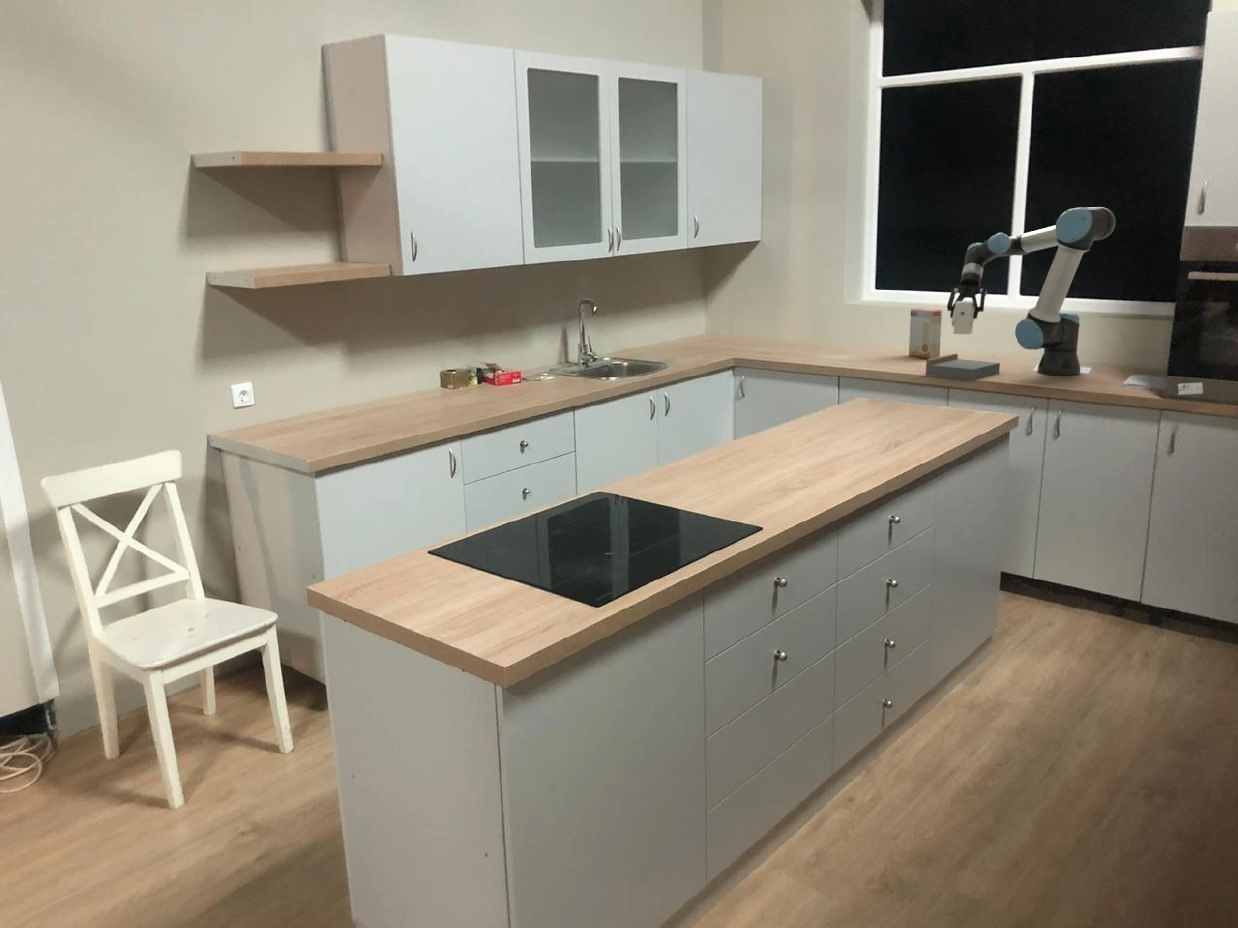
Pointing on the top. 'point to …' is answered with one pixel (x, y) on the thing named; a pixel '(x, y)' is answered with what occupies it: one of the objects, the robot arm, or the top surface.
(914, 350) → the cracker box
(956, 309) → the cabinet block
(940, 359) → the riser
